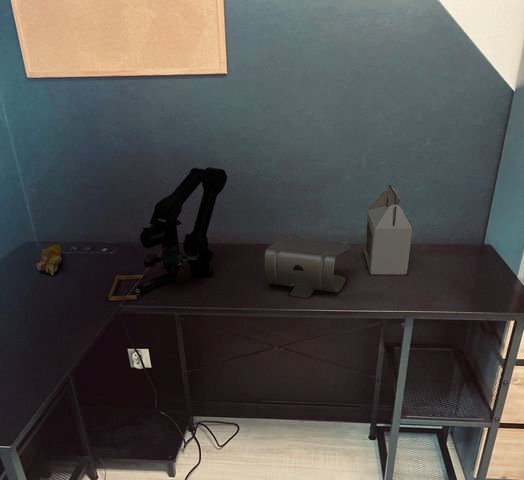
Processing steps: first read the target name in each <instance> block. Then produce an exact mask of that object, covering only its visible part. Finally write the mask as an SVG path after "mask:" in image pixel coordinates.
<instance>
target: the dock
mask: <svg viewBox="0 0 524 480" xmlns="http://www.w3.org/2000/svg"><path fill="white" fill-rule="evenodd" d="M139 279H140V280H142V279H144V274H131V275H120V274H116V277H115V278H114V281H113V283H112V286H111V288H110V291H109V293H108V295H107V300H108V301H127V300H129V301H130V300H131V301H132V300H137V299H138V297H137V296H138V295H137V294H133V295H131V294H130V295H115V293H116V290H117V287H118V286H119V283H120V281H122V280H123V281H124V280H139Z"/></svg>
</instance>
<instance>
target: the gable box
mask: <svg viewBox="0 0 524 480" xmlns="http://www.w3.org/2000/svg"><path fill="white" fill-rule="evenodd" d="M394 187H395V186H393V187H392V185H391V184H388V185H387V190H386V191H384V192H382V193H381V194H380V196H379V197H378V198H377V199H376V200H375V202H374V203H373V204H372V205H371V206H370V208H369V209H368V210H367V215H366V216H367V217H366V226H365V227H366V228H365V229H366V230H365V241H364V253H363V254H364V257H365V261H366V264H367V268H368V271H369V275H380V276H381V275H383V276H384V275H388V276H389V275H390V276H391V275H395V276H396V275H398V276H399V275H404V276H406V275H407V274H408V268H409V267H408V266H409V259H410V252H411V243H412V235H413V227H412V225H411V223H410V221H409V220H408V218H407V216H406V214H405V212H404V210H403V209H402V207H401V206H400V204H399V203H400V201H401V197H400V196H399V194H398V192H397V190H396V189H395V188H394Z"/></svg>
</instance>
